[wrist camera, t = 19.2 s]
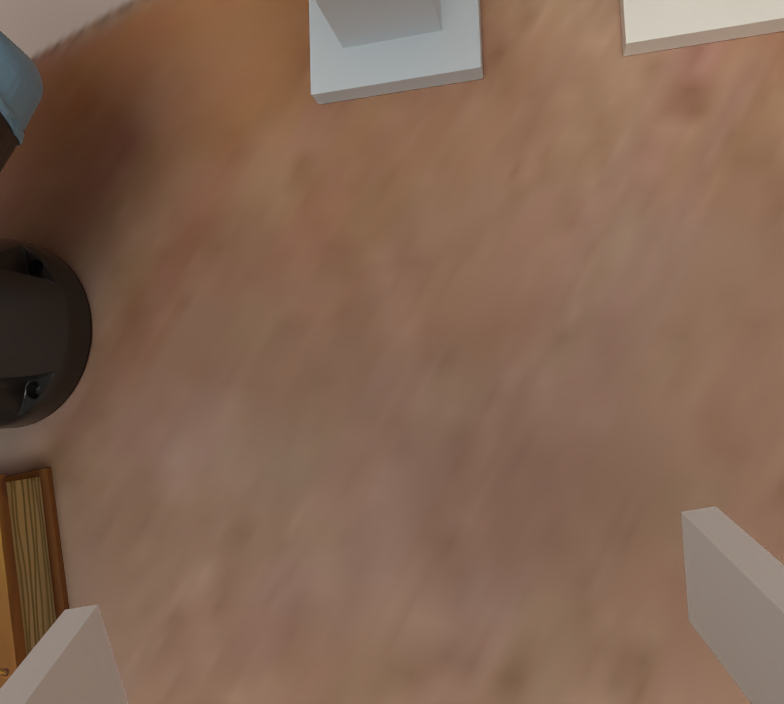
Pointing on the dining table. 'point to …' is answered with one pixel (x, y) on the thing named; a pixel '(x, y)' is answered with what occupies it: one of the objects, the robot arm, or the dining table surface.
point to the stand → (694, 22)
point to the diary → (28, 565)
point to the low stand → (391, 46)
